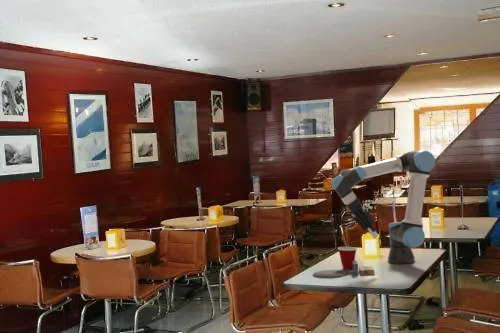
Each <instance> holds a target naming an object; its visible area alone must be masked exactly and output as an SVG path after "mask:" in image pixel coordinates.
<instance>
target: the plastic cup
mask: <svg viewBox="0 0 500 333" xmlns="http://www.w3.org/2000/svg"><path fill="white" fill-rule="evenodd" d="M337 250H338V253H339V256H340V262H341V265H342V269H343V271H344V270H345V271H350V270H353V265H352V261H356V253H357V250H358V248H356V247H352V246H339V247H337Z"/></svg>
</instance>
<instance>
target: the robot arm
mask: <svg viewBox="0 0 500 333" xmlns="http://www.w3.org/2000/svg"><path fill="white" fill-rule="evenodd" d="M435 166H436V158H435V156H434V154H433V153H432V152H430V151H429V150H424V149H420V150H411V151H408V152H406V153H402V154H399V155H395V156H394V157H393V158H389V159H385V160H382V161H377V162H373V163H368V164H364V165H358V166H357V167H352V168H347V169H346V168H344V169H342V170H340V171H339V174H338V175H337V176H336V177H334V178H332V180H331V181H330V185H331V187H332V189H333V190H334V191H335V192H336V193H337V195H338V196H339V197H340V199H341V201H342V203H343V204H344V205H346V206H345V207H346V208H347V209H348V211H350V212H351V215H350V219H353V221H355V223H356V224H357V225H358V226H359V227H360V228H361V229H363V230H367V232H368V234H370V235H371V236H372V238H373V239H377V238H378V237H379V234H378V233H377V231H376V228H375V226H374V223H375V222H374V221H375V220H374V219H373V218H372V215H371V212H370V211H369V210H370V209H369V206H367V207H364V206H363V205H362V203H361V201H360V200H359V198H357V195H356V194H355V193H354V191H353V189H352V188H353V187H355V186H356V185H358V184H359V183H361V182H362V181H364V179H365V180H366V179H369V178H374V177H377V176H381V175H385V174H389V173H394V172H398V173H401V172H408V175H409V176H410V179H409V187H408V192H407V193H408V194H407V199H406V200H407V201H406V206H405V207H406V208H405V214H404V219H403V220H401V221H398V222H397V221H396V222H389V224H388V233H389V234H388V236H389V248H390V249H389V253H388V256H387V262H388V263H389V264H397V265H402V264H404V265H405V264H411V263H412V264H413V263H414V262H416V257H415V255H414V252H413V249H414V248H418V247H421V245H422V244H423V243H424V242H425V238H426V234H425V232H424V230H423V227H424V223H423V222H422V214H423V208H424V207H423V205H424V199H425V192H426V187H427V186H426V185H427V179H428V178H429V177H430V176H431V171H432V170H434V168H435ZM412 248H413V249H412Z"/></svg>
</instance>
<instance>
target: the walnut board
mask: <svg viewBox="0 0 500 333" xmlns="http://www.w3.org/2000/svg"><path fill="white" fill-rule="evenodd" d="M358 272H359V274H360V275H361V276H373V275H375V269H374V267H373V265H367V266H358Z"/></svg>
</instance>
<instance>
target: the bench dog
mask: <svg viewBox="0 0 500 333" xmlns="http://www.w3.org/2000/svg"><path fill="white" fill-rule="evenodd" d="M352 265H353V269H352V274H353V275H354V276H359V264H358V261H357V260H355V261H352Z"/></svg>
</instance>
